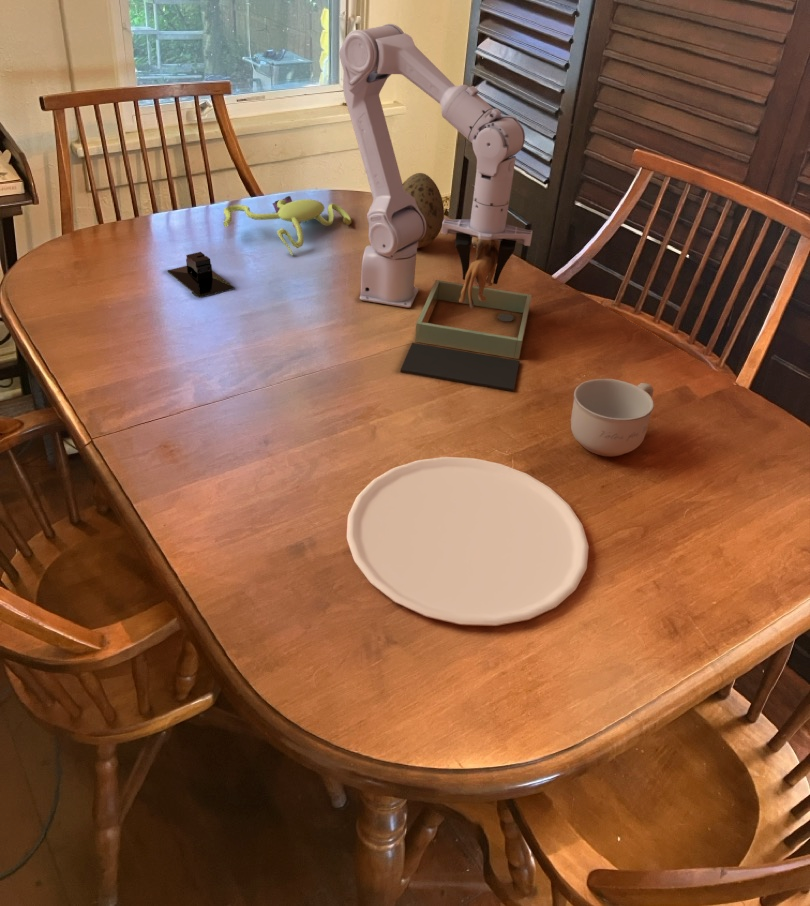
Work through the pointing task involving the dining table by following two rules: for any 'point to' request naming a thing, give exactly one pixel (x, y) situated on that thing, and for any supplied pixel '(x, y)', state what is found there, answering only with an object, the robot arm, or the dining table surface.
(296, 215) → the figurine
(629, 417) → the teacup
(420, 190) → the decorative egg
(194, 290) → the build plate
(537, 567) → the plate
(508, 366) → the mat
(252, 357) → the dining table surface
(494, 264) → the lion figurine
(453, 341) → the green square tray
